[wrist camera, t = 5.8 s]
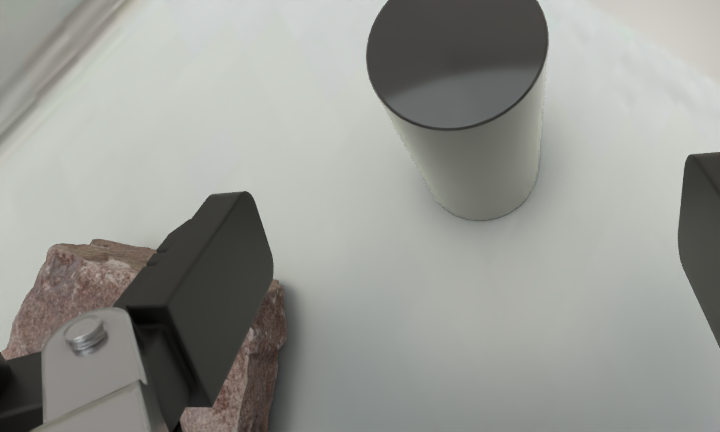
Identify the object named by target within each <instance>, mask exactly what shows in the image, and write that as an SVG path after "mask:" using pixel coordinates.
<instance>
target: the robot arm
mask: <svg viewBox="0 0 720 432" xmlns="http://www.w3.org/2000/svg"><path fill="white" fill-rule="evenodd" d="M678 248H679V255H680V260H681V263H682V266H683V269H684V271H685V273H686V275H687V278H688V280H689V282H690V284H691V286H692V288H693V291H694V293H695V295H696V297H697V299H698V302H699V304H700V306H701V308H702V310H703V312H704V315H705V317H706V319H707V321H708V323H709V325H710V328H711V330H712V332H713V334H714V336H715V338H716V341H717V343H718V345H719V347H720V152H715V153H703V154H691V155H689V156H688V157H687V159H686V162H685V167H684V176H683V187H682V197H681V207H680V217H679V228H678ZM272 278H273V258H272V254H271V250H270V247H269V244H268V241H267V238H266V235H265V232H264V228H263V225H262V222H261V219H260V216H259V213H258V210H257V207H256V203H255V201H254V199H253V197H252V195H251V194H250V193H249V192H246V191H244V192H232V193H220V194H212V195H210V196H209V197H208V198H207V199H206V201H205V202H204V203H203V204H202V206H201V207H200V208H199V210H198V211H197V212H196V214H195V215H194V216H193V218H192V219H189V220H188V221H186V222H185V223H184V224H182V225H181V226H180V227H178V228H177V229H176V230H174V231H173V232H171V233H170V234H169V235H168V236H167V238H166V239H165V240H164V241H163V243H162V244H161V245H160V246H159V248H158V249H157V253H154V254H153V255H152V257H151V258H150V259H149V260H148V262H147V263H146V267H143V268H142V269H141V270H140V272H139V273H138V274H137V275H136V277H135V278H134V279H133V281H132V282H131V283H130V284H129V286H128V287H127V288H126V289H125V291H124V292H123V293H122V294H121V296H120V297H119V298H118V300H117V301H116V302H115V303H114V305H113V306H112V307H104V308H98V309H94V310H91V311H88V312H85V313H83V314H81V315H78V316H76V317H74V318H73V319H71V320H69V321H68V322H66V323H65V324H63V325H62V326H61V327H59V328H58V329H57V330H56V331H55V332H54V333H53V334H52V335H51V336H50V337H49V338H48V339H47V341H46V343H45V344H44V346H43V349H42V351H40V352H36V353H33V354H29V355H25V356H21V357H17V358H13V359H9V360H5V358H4V357H3V355H2V354H1V352H0V432H186V429H185V427H184V425H183V423H182V421H181V419H180V418H181V416H182V414H183V412H184V410H185V408H186V407H209V408H212V407H213V405H214V403H215V401H216V399H217V397H218V395H219V393H220V390H221V388H222V386H223V384H224V382H225V380H226V378H227V376H228V374H229V371H230V369H231V367H232V365H233V363H234V361H235V359H236V357H237V355H238V353H239V350H240V348H241V346H242V344H243V342H244V340H245V338H246V336H247V334H248V331H249V329H250V327H251V325H252V323H253V321H254V319H255V317H256V315H257V313H258V310H259V308H260V306H261V304H262V302H263V300H264V298H265V296H266V294H267V291H268V289H269V287H270V285H271V282H272Z"/></svg>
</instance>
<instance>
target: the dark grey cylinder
mask: <svg viewBox="0 0 720 432" xmlns="http://www.w3.org/2000/svg"><path fill="white" fill-rule="evenodd" d="M548 45H549V39H548V27H547V22H546V19H545V16H544V13H543V10H542V9H541V7H540V5H539V3H538V1H537V0H388V1H387V3H386V4H385V5H384V6H383V8H382V9H381V11H380V12H379V14H378V16H377V17H376V19H375V22H374V24H373V26H372V29H371V32H370V35H369V38H368V43H367V50H366V64H367V71H368V75H369V79H370V82H371V84H372V87H373V89H374V91H375V93H376V94H377V96H378V98H379V100H380V102H381V103H382V105H383V107H384V109H385V111H386V112H387V114H388V116H389V118H390V120H391V121H392V123H393V125H394V127H395V129H396V130H397V132H398V134H399V136H400V138H401V139H402V141H403V143H404V145H405V147H406V148H407V150H408V152H409V154H410V156H411V157H412V159H413V161H414V163H415V165H416V166H417V168H418V170H419V172H420V174H421V175H422V177H423V179H424V181H425V183H426V184H427V186H428V188H429V190H430V192H431V193H432V195H433V197H434V198H435V199H436V201H437V202H438V203H439V204H440V205H441V206H442V207H443V208H444V209H446V210H447V211H448V212H450V213H452V214H454V215H456V216H458V217H461V218H464V219H468V220H475V221H484V220H492V219H496V218H499V217H502V216H504V215H506V214H508V213H510V212H512V211H513V210H515V209H516V208H517V207H519V206H520V205H521V204H522V203H523V202H524V201H525V200H526V198H527V197H528V196H529V194H530V193H531V191H532V189H533V187H534V185H535V182H536V179H537V175H538V166H539V154H540V142H541V130H542V118H543V106H544V94H545V81H546V69H547V57H548Z"/></svg>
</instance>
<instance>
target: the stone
mask: <svg viewBox="0 0 720 432" xmlns="http://www.w3.org/2000/svg"><path fill="white" fill-rule="evenodd" d="M154 253H157V251H156V250H153V249H150V248H144V247H135V246H130V245H126V244H122V243H117V242H113V241H108V240H102V239H94V240H92V242H91V243H90V245H86V244H82V245H74V244H63V243H62V244H56V245H54V246H52V247H50V248H49V250H48V252H47V258H46V262H45V263H44V264H43V265H42V267H41V269H40V271H39V273H38V276H37V279H36V282H35V284H34V287H33V288H32V289H31V291H30V292H29V293H28V294H27V295H26V297H25V299H24V301H23V303H22V306H21V308H20V310H19V312H18V314H17V315H16V317H15V319H14V321H13V323H12V330H11V335H10V340H9V343H8V346H7V348H6V349H5V350H4V351H2V352H1V354H2V355H3V357H4V358H5V360H9V359H13V358H17V357H21V356H25V355H29V354H33V353H36V352H40V351H42V349H43V346H44V344H45V343H46V341H47V339H48V338H49V337H50V336H51V335H52V334H53V333H54V332H55V331H56V330H57V329H58V328H59V327H61V326H62V325H63V324H65V323H66V322H68V321H69V320H71V319H73V318H74V317H76V316H78V315H81V314H83V313H85V312H88V311H91V310H94V309H98V308H104V307H112V306H113V305H114V303H115V302H116V301H117V300H118V298H119V297H120V296H121V294H122V293H123V292H124V291H125V289H126V288H127V287H128V286H129V284H130V283H131V282H132V281H133V279H134V278H135V277H136V275H137V274H138V273H139V272H140V270H141V269H142V268H143V267H146V263H147V262H148V260H149V259H150V258H151V257H152V255H153V254H154ZM286 341H287V321H286V319H285V307H284V286H282V285H280V284H279V281H277V280H274V279H272V282H271V285H270V287H269V289H268V291H267V294H266V296H265V298H264V300H263V302H262V304H261V306H260V308H259V310H258V313H257V315H256V317H255V319H254V321H253V323H252V325H251V327H250V329H249V331H248V334H247V336H246V338H245V340H244V342H243V344H242V346H241V348H240V350H239V353H238V355H237V357H236V359H235V361H234V363H233V365H232V367H231V369H230V371H229V374H228V376H227V378H226V380H225V382H224V384H223V386H222V388H221V390H220V393H219V395H218V397H217V399H216V401H215V403H214V405H213V407H212V408H209V407H186V408H185V410H184V412H183V414H182V416H181V418H180V419H181V421H182V423H183V425H184V427H185V429H186V432H268V424H269V411H270V408H271V405H272V401H273V396H274V390H275V383H276V377H277V372H278V363H277V358H278V356H277V355H278V354H279V352H280V349H281V346H282V345H283V344H284V343H285V342H286Z"/></svg>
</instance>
